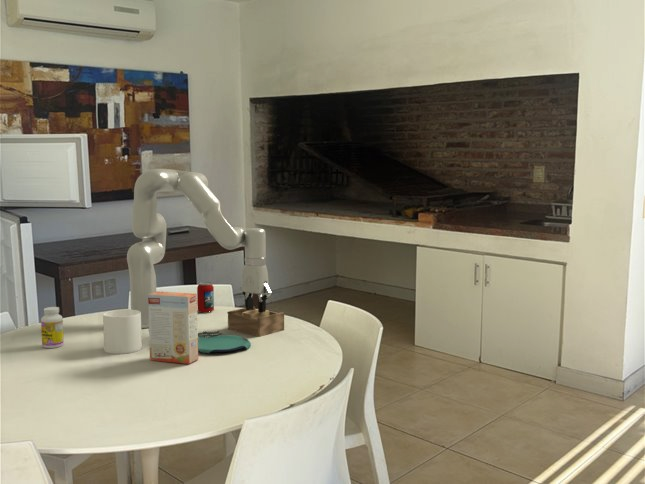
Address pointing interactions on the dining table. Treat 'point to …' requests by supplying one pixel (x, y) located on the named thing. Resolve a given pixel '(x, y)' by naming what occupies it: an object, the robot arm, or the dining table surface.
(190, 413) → the dining table surface
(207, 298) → the beverage can
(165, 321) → the cracker box
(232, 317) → the walnut crate
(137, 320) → the cup
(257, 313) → the oak crate
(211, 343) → the cutlery set
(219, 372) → the dining table surface
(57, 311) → the supplement bottle
